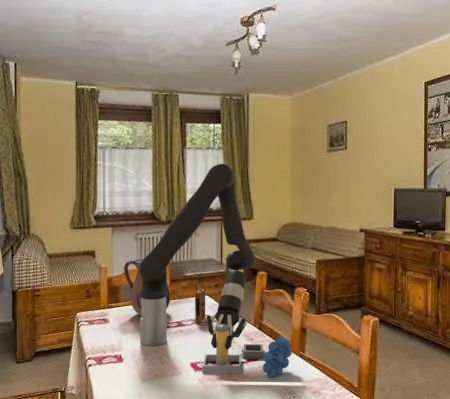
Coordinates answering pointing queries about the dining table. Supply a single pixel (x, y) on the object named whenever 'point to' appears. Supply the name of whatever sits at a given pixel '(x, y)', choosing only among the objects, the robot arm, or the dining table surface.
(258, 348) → the socket block
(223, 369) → the tray
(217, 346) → the cylinder
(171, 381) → the dining table surface
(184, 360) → the dining table surface
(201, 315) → the multimeter
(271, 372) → the grapes
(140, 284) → the ceramic pitcher
